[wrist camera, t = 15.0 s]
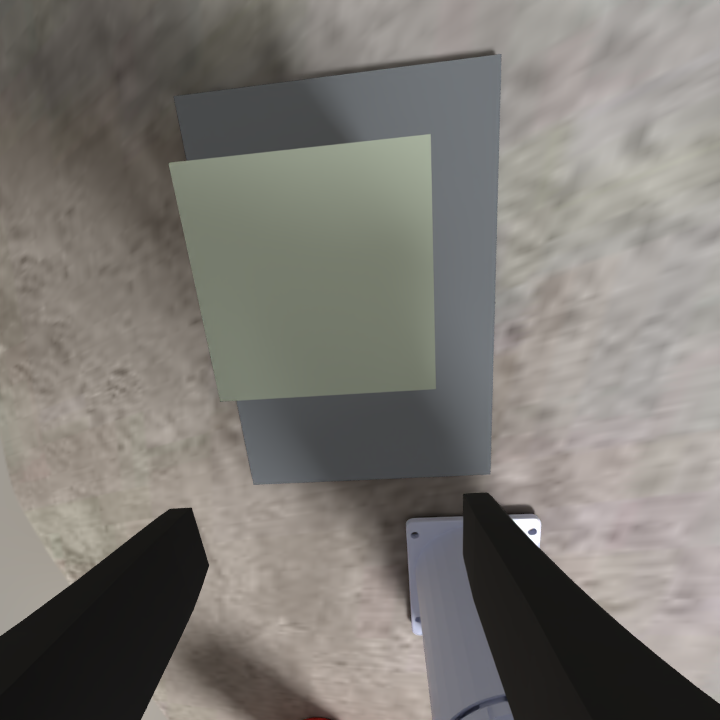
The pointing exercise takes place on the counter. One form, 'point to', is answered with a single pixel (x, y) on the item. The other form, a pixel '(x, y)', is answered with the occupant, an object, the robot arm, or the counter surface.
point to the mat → (450, 265)
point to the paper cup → (317, 719)
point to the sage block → (314, 267)
